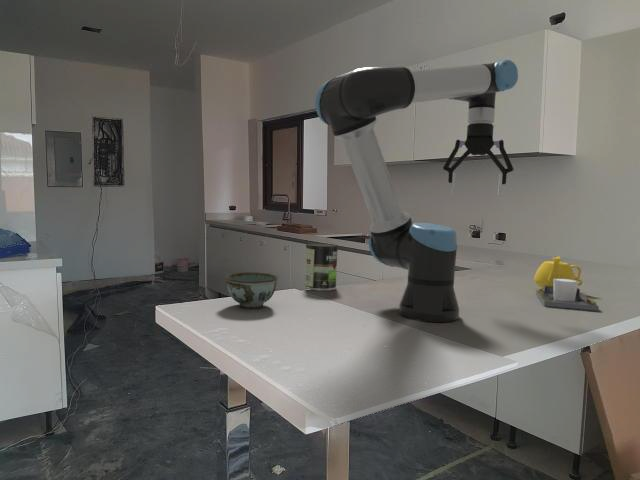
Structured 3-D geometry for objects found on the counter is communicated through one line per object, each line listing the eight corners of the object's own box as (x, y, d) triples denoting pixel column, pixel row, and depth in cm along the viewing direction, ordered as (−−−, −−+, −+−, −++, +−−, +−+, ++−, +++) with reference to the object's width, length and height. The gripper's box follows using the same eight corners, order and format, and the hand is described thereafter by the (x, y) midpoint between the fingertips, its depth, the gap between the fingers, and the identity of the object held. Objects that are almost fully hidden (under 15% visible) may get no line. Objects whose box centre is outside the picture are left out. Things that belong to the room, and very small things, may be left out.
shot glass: (579, 303, 147) (581, 280, 147) (572, 306, 142) (574, 282, 142) (555, 299, 152) (557, 277, 151) (548, 302, 147) (550, 279, 146)
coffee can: (342, 287, 158) (343, 244, 157) (325, 292, 149) (327, 247, 148) (315, 283, 163) (317, 242, 162) (298, 288, 155) (299, 244, 153)
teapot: (581, 299, 154) (584, 263, 153) (531, 293, 161) (533, 259, 160) (581, 289, 171) (584, 257, 170) (535, 284, 178) (538, 253, 177)
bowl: (256, 298, 137) (257, 270, 136) (287, 307, 127) (288, 277, 127) (214, 304, 127) (215, 275, 127) (245, 315, 118) (245, 282, 117)
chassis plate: (598, 311, 137) (599, 299, 136) (544, 306, 141) (545, 294, 140) (583, 299, 154) (584, 288, 153) (535, 294, 158) (536, 284, 158)
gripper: (523, 125, 146) (518, 196, 148) (438, 126, 153) (434, 193, 155) (526, 121, 138) (520, 196, 140) (437, 122, 146) (433, 193, 148)
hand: (475, 194), depth 148 cm, fingers open, 13 cm apart
